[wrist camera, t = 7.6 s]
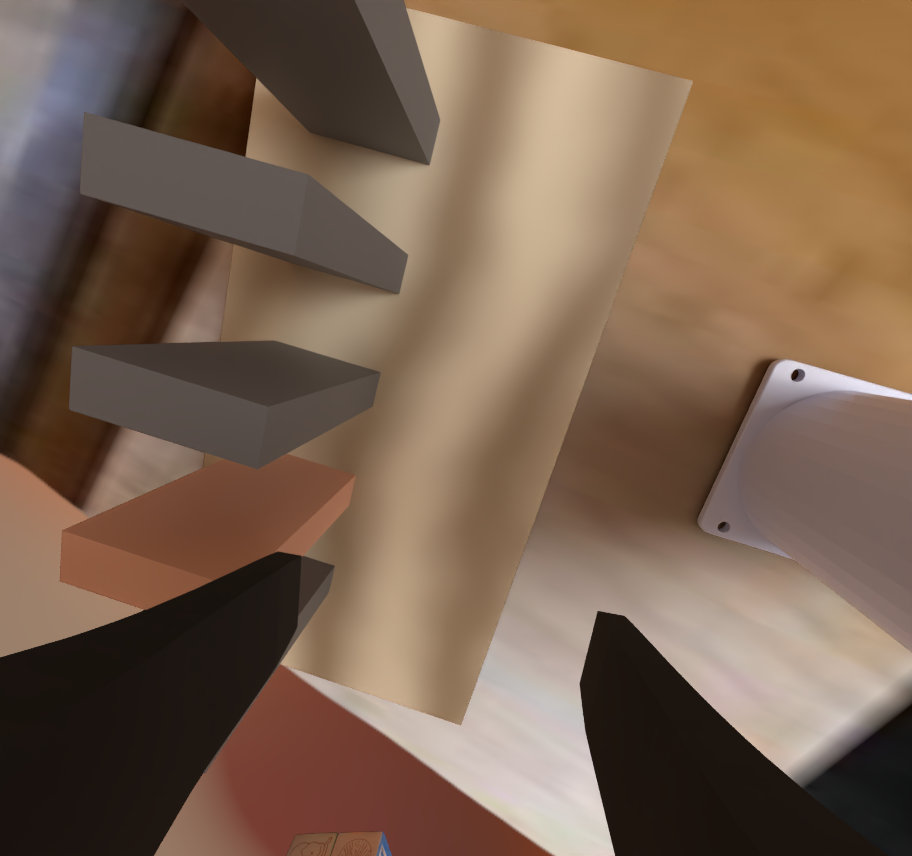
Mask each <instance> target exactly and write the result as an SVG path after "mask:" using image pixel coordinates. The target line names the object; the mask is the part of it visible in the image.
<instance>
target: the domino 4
mask: <svg viewBox="0 0 912 856" xmlns="http://www.w3.org/2000/svg"><path fill="white" fill-rule="evenodd" d="M355 478H356V475H354V474H351V473H348V472H344V471H341V470H338V469H335V468H331V467H328V466H325V465H322V464H319V463H315V462H312V461H309V460H306V459H302V458H299V457H296V456H293V455H289V454H285V455H283V456H281V457H280V458H278V459H276V460H274V461H272V462H271V463H269V464H267V465H265V466H263V467H261V468H260V469H255V468H252V467H248V466H245V465H242V464H239V463H236V462H233V461H229V460H226V459H222V460H220V461H218V462H216V463H213V464H211V465H209V466H207V467H204V468H202V469H200V470H197V471H195V472H193V473H191V474H188V475H186V476H184V477H182V478H179V479H177V480H175V481H173V482H170V483H168V484H166V485H164V486H161V487H159V488H157V489H155V490H152V491H150V492H148V493H146V494H143V495H141V496H139V497H137V498H134V499H132V500H130V501H128V502H125V503H123V504H121V505H119V506H116V507H114V508H112V509H110V510H107V511H105V512H103V513H101V514H98V515H96V516H94V517H92V518H89V519H87V520H85V521H83V522H80V523H78V524H76V525H74V526H71V527H69V528H67V529H65V530H63V531H62V544H61V545H62V546H61V566H60V581H61V582H64V583H67V584H70V585H73V586H76V587H79V588H81V589H85V590H87V591H91V592H94V593H96V594H99V595H102V596H106V597H108V598H111V599H114V600H117V601H120V602H123V603H126V604H129V605H133V606H135V607H138V608H141V609H144V610H147V609H149V608H151V607H154V606H156V605H159V604H161V603H163V602H166V601H168V600H170V599H173V598H175V597H177V596H180V595H182V594H185V593H187V592H189V591H192V590H194V589H196V588H198V587H201V586H203V585H205V584H207V583H209V582H211V581H213V580H216V579H218V578H220V577H222V576H224V575H226V574H229V573H231V572H233V571H235V570H237V569H239V568H241V567H243V566H246V565H248V564H250V563H252V562H254V561H256V560H259V559H261V558H263V557H265V556H268V555H270V554H273V553H275V552H278V551H279V552H284V553H290V554H295V555H300V556H303V555H304V554H305V553H306V552H307V551H308V550H309V549H310V548H311V547H312V545H313V544H314V543H315V542H316V541H317V540H318V539H319V538H320V537H321V536H322V534H323V533H324V532H325V531H326V530H327V529H328V528H329V527H330V526H331V525H332V524H333V522H334V521H335V520H336V519H337V518H338V517H339V516H340V515H341V514H342V513H343V511H344V510H345V509H346V508H347V507H348V506H349V503H350V499H351V495H352V490H353V486H354V482H355Z"/></svg>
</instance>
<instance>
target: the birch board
mask: <svg viewBox="0 0 912 856" xmlns="http://www.w3.org/2000/svg"><path fill="white" fill-rule="evenodd" d="M406 10H407V13H408V16H409V19H410V23H411V26H412V29H413V32H414V36H415V39H416V42H417V45H418V49H419V52H420V55H421V58H422V62H423V65H424V68H425V71H426V75H427V78H428V81H429V84H430V88H431V91H432V94H433V98H434V101H435V104H436V107H437V111H438V114H439V117H440V124H439V128H438V132H437V137H436V141H435V145H434V149H433V154H432V158H431V162H430V165H426V164H423V163H419V162H415V161H412V160H408V159H404V158H401V157H397V156H394V155H390V154H386V153H383V152H379V151H375V150H372V149H368V148H364V147H361V146H357V145H353V144H350V143H346V142H342V141H339V140H335V139H331V138H328V137H324V136H320V135H317V134H313V133H310V132H309V131H308V130H307V129H306V128H305V127H304V126H303V125H302V124H301V123H300V122H299V121H298V120H297V119H296V118H295V117H294V116H293V115H292V114H291V113H290V112H289V111H288V110H287V109H286V108H285V107H284V106H283V105H282V104H281V103H280V102H279V101H278V100H277V99H276V97H275V96H274V95H273V94H272V93H271V92H270V91H269V90H268V89H267V88H266V87H265V86H264V85H263V84H262V83H261V82H260V81H259V80H258V79H257V78H256V85H255V92H254V99H253V107H252V114H251V121H250V128H249V136H248V143H247V150H246V157H248V158H251V159H255V160H258V161H262V162H266V163H269V164H273V165H276V166H280V167H283V168H287V169H291V170H294V171H298V172H301V173H305V174H309V175H310V176H311V177H312V178H314V179H315V180H316V181H317V182H319V183H320V184H321V185H322V186H324V187H325V188H326V189H327V190H329V191H330V192H331V193H332V194H334V195H335V196H336V197H337V198H338V199H340V200H341V201H342V202H343V203H345V204H346V205H347V206H348V207H350V208H351V209H352V210H353V211H355V212H356V213H357V214H358V215H360V216H361V217H362V218H363V219H365V220H366V221H367V222H368V223H369V224H371V225H372V226H373V227H374V228H376V229H377V230H378V231H379V232H381V233H382V234H383V235H384V236H386V237H387V238H388V239H389V240H391V241H392V242H393V243H394V244H396V245H397V246H398V247H399V248H400V249H402V250H403V251H404V252H405V253H407V254H408V259H407V264H406V268H405V272H404V276H403V280H402V285H401V289H400V293H399V294H397V293H393V292H390V291H386V290H383V289H379V288H376V287H373V286H369V285H366V284H362V283H359V282H355V281H352V280H348V279H345V278H341V277H338V276H335V275H331V274H328V273H324V272H321V271H317V270H314V269H310V268H307V267H304V266H300V265H297V264H293V263H290V262H287V261H283V260H280V259H277V258H274V257H271V256H268V255H265V254H262V253H259V252H256V251H253V250H250V249H247V248H244V247H241V246H238V245H235V244H234V245H233V252H232V259H231V266H230V274H229V281H228V288H227V295H226V303H225V310H224V317H223V324H222V332H221V339H220V342H234V341H269V340H275V341H278V342H282V343H285V344H288V345H292V346H295V347H298V348H302V349H305V350H308V351H312V352H315V353H318V354H322V355H325V356H328V357H332V358H335V359H338V360H342V361H345V362H348V363H352V364H355V365H358V366H362V367H365V368H368V369H372V370H375V371H378V372H381V374H380V378H379V382H378V386H377V390H376V395H375V399H374V403H373V407H371V408H369V409H367V410H366V411H364V412H362V413H360V414H358V415H356V416H355V417H353V418H351V419H349V420H347V421H345V422H344V423H342V424H340V425H338V426H336V427H334V428H333V429H331V430H329V431H327V432H325V433H324V434H322V435H320V436H318V437H316V438H314V439H313V440H311V441H309V442H307V443H305V444H303V445H302V446H300V447H298V448H296V449H294V450H292V451H291V452H289V453H287V454H289V455H293V456H296V457H299V458H302V459H306V460H309V461H312V462H315V463H319V464H322V465H325V466H328V467H331V468H335V469H338V470H341V471H344V472H348V473H351V474H354V475H356V478H355V482H354V486H353V490H352V495H351V499H350V503H349V506H348V507H347V508H346V509H345V510H344V511H343V513H342V514H341V515H340V516H339V517H338V518H337V519H336V520H335V521H334V522H333V524H332V525H331V526H330V527H329V528H328V529H327V530H326V531H325V532H324V533H323V534H322V536H321V537H320V538H319V539H318V540H317V541H316V542H315V543H314V544H313V545H312V547H311V548H310V549H309V550H308V551H307V552H306V553H305V554H304V555H303V556H306V557H309V558H312V559H315V560H318V561H321V562H324V563H328V564H331V565H334V566H335V568H334V572H333V577H332V581H331V585H330V589H329V593H328V595H327V596H326V597H325V599H324V600H323V602H322V603H321V605H320V606H319V608H318V609H317V611H316V612H315V614H314V615H313V616H312V618H311V619H310V621H309V622H308V624H307V625H306V627H305V628H304V630H303V631H302V633H301V634H300V635H299V637H298V638H297V640H296V641H295V643H294V644H293V646H292V647H291V649H290V650H289V652H288V653H287V654H286V656H285V657H284V659H283V660H282V662H281V663H280V664H282V665H285V666H288V667H291V668H294V669H297V670H300V671H302V672H305V673H308V674H311V675H314V676H317V677H320V678H323V679H326V680H329V681H332V682H335V683H338V684H341V685H344V686H347V687H350V688H352V689H355V690H358V691H361V692H364V693H367V694H370V695H373V696H376V697H379V698H382V699H385V700H388V701H391V702H394V703H397V704H400V705H402V706H405V707H408V708H411V709H414V710H417V711H420V712H423V713H426V714H429V715H432V716H435V717H438V718H441V719H444V720H447V721H450V722H452V723H455V724H458V725H461V724H462V721H463V718H464V715H465V713H466V710H467V707H468V704H469V702H470V699H471V696H472V693H473V690H474V688H475V685H476V682H477V679H478V677H479V674H480V671H481V668H482V665H483V663H484V660H485V657H486V654H487V652H488V649H489V646H490V643H491V641H492V638H493V635H494V632H495V629H496V627H497V624H498V621H499V618H500V616H501V613H502V610H503V607H504V604H505V602H506V599H507V596H508V593H509V591H510V588H511V585H512V582H513V579H514V577H515V574H516V571H517V568H518V566H519V563H520V560H521V557H522V555H523V552H524V549H525V546H526V543H527V541H528V538H529V535H530V532H531V530H532V527H533V524H534V521H535V518H536V516H537V513H538V510H539V507H540V505H541V502H542V499H543V496H544V494H545V491H546V488H547V485H548V482H549V480H550V477H551V474H552V471H553V469H554V466H555V463H556V460H557V457H558V455H559V452H560V449H561V446H562V444H563V441H564V438H565V435H566V432H567V430H568V427H569V424H570V421H571V419H572V416H573V413H574V410H575V408H576V405H577V402H578V399H579V396H580V394H581V391H582V388H583V385H584V383H585V380H586V377H587V374H588V371H589V369H590V366H591V363H592V360H593V358H594V355H595V352H596V349H597V347H598V344H599V341H600V338H601V335H602V333H603V330H604V327H605V324H606V322H607V319H608V316H609V313H610V310H611V308H612V305H613V302H614V299H615V297H616V294H617V291H618V288H619V285H620V283H621V280H622V277H623V274H624V272H625V269H626V266H627V263H628V261H629V258H630V255H631V252H632V249H633V247H634V244H635V241H636V238H637V236H638V233H639V230H640V227H641V224H642V222H643V219H644V216H645V213H646V211H647V208H648V205H649V202H650V200H651V197H652V194H653V191H654V188H655V186H656V183H657V180H658V177H659V175H660V172H661V169H662V166H663V163H664V161H665V158H666V155H667V152H668V150H669V147H670V144H671V141H672V138H673V136H674V133H675V130H676V127H677V125H678V122H679V119H680V116H681V114H682V111H683V108H684V105H685V102H686V100H687V97H688V94H689V91H690V89H691V86H692V83H693V81H691V80H687V79H683V78H679V77H675V76H671V75H668V74H664V73H660V72H656V71H652V70H648V69H644V68H640V67H636V66H632V65H628V64H624V63H620V62H617V61H613V60H609V59H605V58H601V57H597V56H593V55H589V54H585V53H581V52H577V51H573V50H569V49H566V48H562V47H558V46H554V45H550V44H546V43H542V42H538V41H534V40H530V39H526V38H522V37H519V36H515V35H511V34H507V33H503V32H499V31H495V30H491V29H487V28H483V27H479V26H475V25H471V24H468V23H464V22H460V21H456V20H452V19H448V18H444V17H440V16H436V15H432V14H428V13H424V12H421V11H417V10H413V9H409V8H406ZM222 459H223V458H220V457H217V456H214V455H211V454H207V453H205V455H204V462H203V468H204V467H207V466H209V465H211V464H213V463H216V462H218V461H220V460H222Z"/></svg>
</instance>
